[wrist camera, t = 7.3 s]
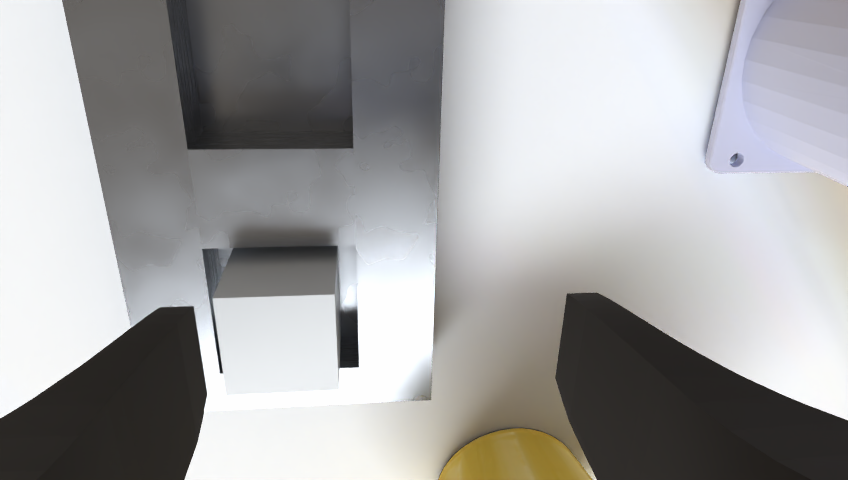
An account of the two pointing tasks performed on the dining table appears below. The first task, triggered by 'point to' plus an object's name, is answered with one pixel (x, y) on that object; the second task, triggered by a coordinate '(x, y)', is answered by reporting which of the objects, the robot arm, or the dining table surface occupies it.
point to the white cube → (279, 320)
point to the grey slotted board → (273, 163)
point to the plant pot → (514, 458)
